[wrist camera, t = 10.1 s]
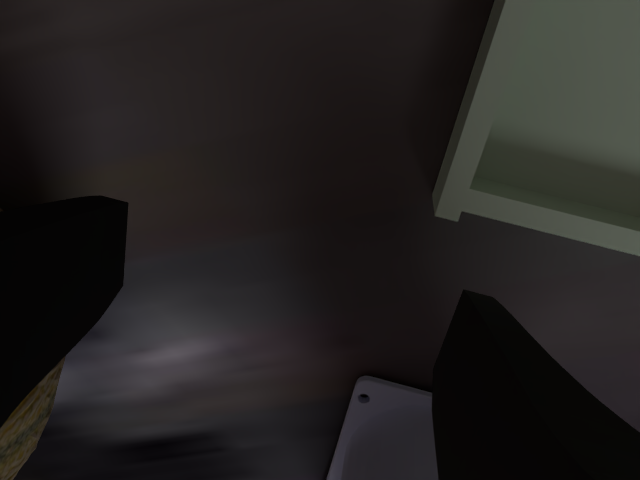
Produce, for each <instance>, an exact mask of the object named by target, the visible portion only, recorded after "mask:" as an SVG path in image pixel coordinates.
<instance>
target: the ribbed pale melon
mask: <svg viewBox="0 0 640 480" xmlns="http://www.w3.org/2000/svg"><path fill="white" fill-rule="evenodd" d="M1 211H3V210H2V209H1V208H0V212H1ZM64 361H65V357H64V358H63V359H62V360H61V361H60V362H59V363H58V364H57V365H56V366H55V367H54V368H53V369H52V370H51V371H50V372H49V373H48V374H47V375H46V376H45V378H44V379H43V380H42V381H41V382H40V383H39V384H38V385H37V386H36V387H35V388H34V389H33V390H32V391H31V392H30V393H29V394H28V395H27V397H26V398H25V399H24V400H23V401H22V402H21V403H20V404H19V406H18V407H17V408H16V409H15V410H14V411H13V413H12V414H11V415H10V416H9V418H8V419H7V420H6V422H5V423H4V424H3V426H2V427H1V428H0V480H13V479H14V477H15V476H16V474H17V472H18V471H19V469H20V468H21V467H22V465H23V464H24V463H25V462H26V461H27V460H28V458H29V456H30V454H31V453H32V452H33V451H34V450H35V448H36V447H37V442H38V440H39V438H40V436H41V434H42V431H43V429H44V427H45V425H46V423H47V421H48V419H49V416H50V414H51V411H52V408H53V404H54V399H55V396H56V390H57V386H58V382H59V378H60V374H61V371H62V368H63V364H64Z"/></svg>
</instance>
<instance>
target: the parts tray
mask: <svg viewBox="0 0 640 480" xmlns="http://www.w3.org/2000/svg"><path fill="white" fill-rule="evenodd" d="M432 198H433V207H434V215H435V216H437V217H441V218H445V219H449V220H453V221H456V222H458V220H459V217H460V214H461V211H463V212H467V213H471V214H475V215H479V216H483V217H487V218H491V219H495V220H499V221H503V222H507V223H511V224H515V225H519V226H523V227H527V228H530V229H534V230H538V231H542V232H546V233H550V234H554V235H558V236H562V237H566V238H570V239H574V240H578V241H582V242H586V243H590V244H594V245H598V246H602V247H606V248H610V249H614V250H618V251H622V252H626V253H630V254H634V255H637V256H640V0H494V3H493V7H492V10H491V13H490V16H489V19H488V22H487V25H486V28H485V31H484V35H483V38H482V41H481V44H480V47H479V50H478V53H477V56H476V60H475V63H474V66H473V69H472V72H471V75H470V78H469V81H468V84H467V88H466V91H465V94H464V97H463V100H462V103H461V106H460V109H459V112H458V116H457V119H456V122H455V125H454V128H453V131H452V134H451V137H450V141H449V144H448V147H447V150H446V153H445V156H444V159H443V162H442V165H441V169H440V172H439V175H438V178H437V181H436V184H435V187H434V190H433V193H432Z"/></svg>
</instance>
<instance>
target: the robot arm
mask: <svg viewBox="0 0 640 480" xmlns="http://www.w3.org/2000/svg"><path fill="white" fill-rule="evenodd" d="M127 216H128V202H124V201H120V200H116V199H112V198H108V197H104V196H86V197H79V198H72V199H66V200H60V201H55V202H50V203H44V204H39V205H34V206H28V207H23V208H18V209H12V210H7V211H1V212H0V428H1V427H2V426H3V424H4V423H5V422H6V420H7V419H8V418H9V416H10V415H11V414H12V413H13V411H14V410H15V409H16V408H17V407H18V406H19V404H20V403H21V402H22V401H23V400H24V399H25V398H26V397H27V395H28V394H29V393H30V392H31V391H32V390H33V389H34V388H35V387H36V386H37V385H38V384H39V383H40V382H41V381H42V380H43V379H44V378H45V376H46V375H47V374H48V373H49V372H50V371H51V370H52V369H53V368H54V367H55V366H56V365H57V364H58V363H59V362H60V361H61V360H62V359H63V358H64V357H65V356H66V355H67V354H68V353H69V352H70V350H71V349H72V348H73V347H74V346H75V345H76V344H77V343H78V342H79V341H80V340H81V339H82V338H83V337H84V336H85V335H86V334H87V333H88V331H89V330H90V329H91V328H92V327H93V326H94V325H95V324H96V323H97V322H98V321H99V319H100V318H101V317H102V315H103V314H104V312H105V311H106V310H107V308H108V307H109V306H110V304H111V303H112V301H113V300H114V298H115V297H116V295H117V294H118V292H119V291H120V289H121V288H122V286H123V278H124V263H125V247H126V232H127ZM361 394H366V395H368V396H369V397H366V398H365V397H361V396H360V395H361ZM326 480H640V432H638V431H637V430H635V429H634V428H633V427H631V426H630V425H629V424H628V423H626V422H625V421H624V420H623V419H621V418H620V417H619V416H618V415H616V414H615V413H614V412H613V411H611V410H610V409H609V408H608V407H606V406H605V405H604V404H603V403H601V402H600V401H599V400H598V399H597V398H595V397H594V396H593V395H592V394H591V393H590V392H588V391H587V390H586V389H585V388H584V387H583V386H582V385H581V384H580V383H579V382H578V381H576V380H575V379H574V378H573V377H572V376H571V375H570V374H569V373H568V372H567V371H566V370H565V369H564V368H562V367H561V366H560V365H559V364H558V363H557V362H556V361H555V360H554V359H553V358H552V357H551V356H550V355H549V354H548V353H547V352H546V351H545V350H544V349H543V348H542V346H541V345H540V344H539V343H538V342H537V341H536V340H535V339H534V338H533V337H532V336H531V335H530V334H529V333H528V332H527V331H526V330H525V329H524V328H523V326H522V325H521V324H520V323H519V322H518V321H517V320H516V319H515V318H514V317H513V316H512V315H511V314H510V313H509V312H508V311H507V310H506V309H505V308H504V307H503V306H502V305H501V304H500V303H499V302H498V301H497V300H496V299H495V298H493V297H490V296H487V295H483V294H479V293H475V292H471V291H467V290H463V292H462V294H461V297H460V300H459V302H458V305H457V308H456V310H455V313H454V315H453V318H452V321H451V323H450V326H449V329H448V331H447V334H446V337H445V339H444V342H443V345H442V347H441V350H440V353H439V355H438V358H437V360H436V363H435V366H434V370H433V387H432V393H431V392H427V391H424V390H420V389H416V388H412V387H409V386H405V385H401V384H398V383H394V382H390V381H386V380H383V379H379V378H375V377H372V376H361V377H360V378H358V380H357V381H356V384H355V387H354V390H353V394H352V397H351V400H350V404H349V407H348V410H347V413H346V417H345V420H344V423H343V427H342V430H341V433H340V436H339V440H338V443H337V446H336V449H335V453H334V456H333V459H332V463H331V466H330V469H329V472H328V476H327V479H326Z"/></svg>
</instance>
